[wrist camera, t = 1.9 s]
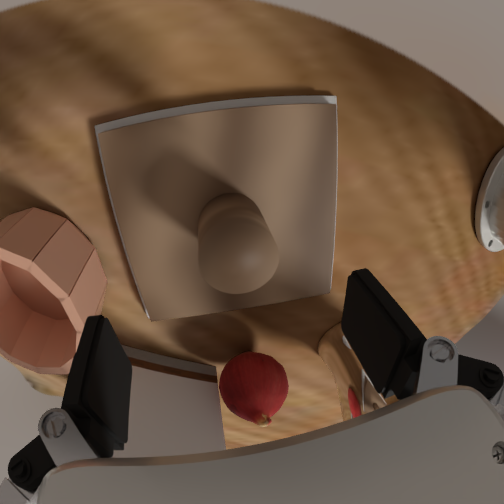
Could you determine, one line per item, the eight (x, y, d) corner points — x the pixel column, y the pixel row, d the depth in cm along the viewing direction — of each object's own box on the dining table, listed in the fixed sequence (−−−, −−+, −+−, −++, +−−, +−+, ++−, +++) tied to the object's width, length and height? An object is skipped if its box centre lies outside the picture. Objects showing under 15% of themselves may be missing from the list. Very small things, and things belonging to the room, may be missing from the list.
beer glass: (301, 342, 27) (355, 486, 14) (362, 302, 26) (445, 436, 13) (329, 370, 31) (378, 486, 18) (382, 336, 29) (447, 447, 17)
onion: (255, 377, 29) (270, 444, 22) (205, 363, 27) (212, 437, 20) (289, 342, 27) (313, 413, 20) (236, 324, 25) (251, 404, 18)
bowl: (81, 192, 17) (42, 231, 12) (125, 316, 22) (112, 373, 17) (-20, 223, 16) (-60, 261, 11) (29, 325, 21) (7, 371, 16)
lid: (329, 103, 16) (375, 110, 12) (325, 285, 24) (352, 332, 19) (103, 131, 15) (66, 147, 10) (152, 312, 22) (145, 366, 18)
